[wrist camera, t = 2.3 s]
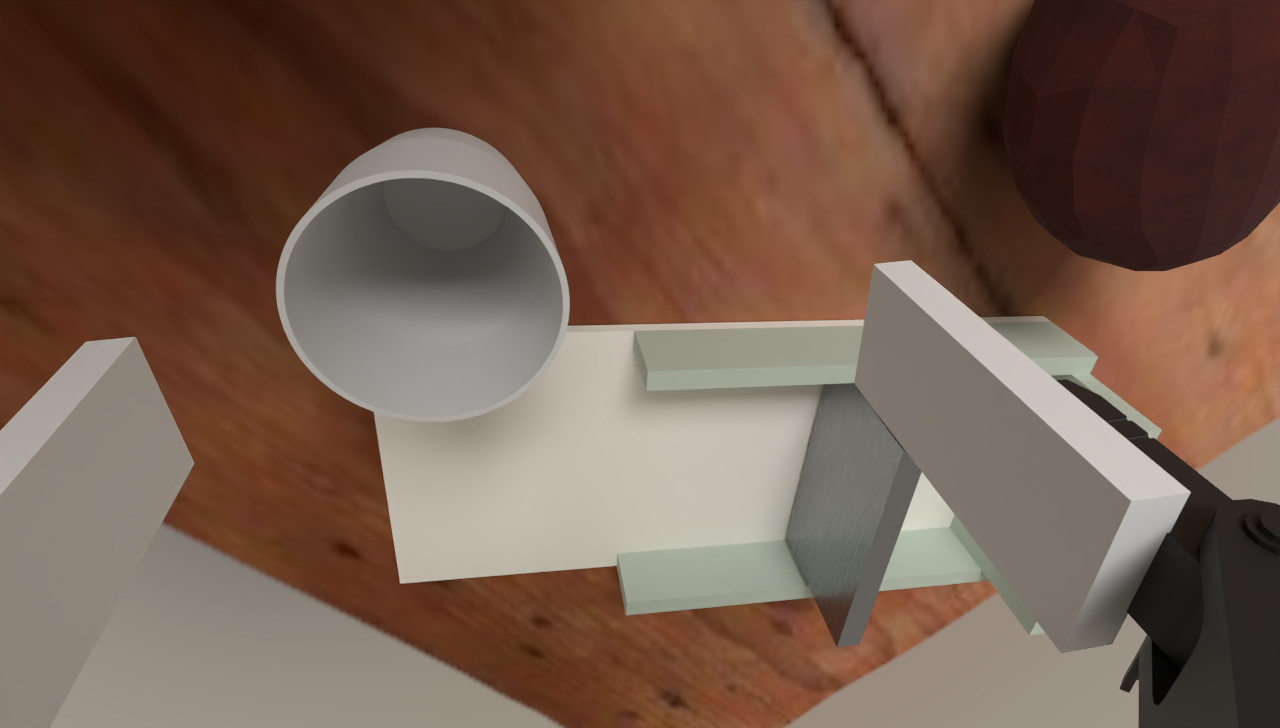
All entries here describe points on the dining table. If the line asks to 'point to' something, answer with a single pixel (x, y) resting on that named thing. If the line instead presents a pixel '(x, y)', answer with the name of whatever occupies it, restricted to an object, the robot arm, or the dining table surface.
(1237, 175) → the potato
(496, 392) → the cup
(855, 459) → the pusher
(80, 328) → the dining table surface
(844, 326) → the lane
